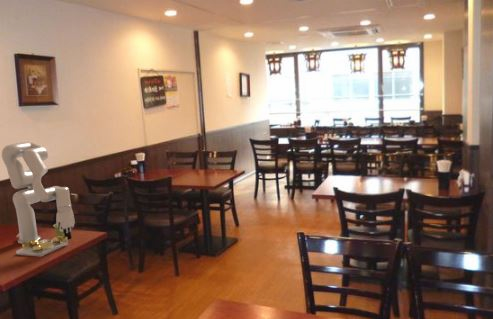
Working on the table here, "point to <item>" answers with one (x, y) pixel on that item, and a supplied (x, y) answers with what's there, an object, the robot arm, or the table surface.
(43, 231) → the table surface
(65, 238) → the knob
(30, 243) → the knob near
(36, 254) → the base plate
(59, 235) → the plant pot
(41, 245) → the knob
